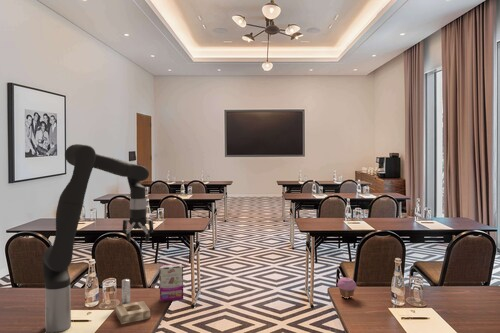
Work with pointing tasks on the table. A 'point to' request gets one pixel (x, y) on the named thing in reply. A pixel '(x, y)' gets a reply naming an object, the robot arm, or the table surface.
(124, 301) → the pin
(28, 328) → the table surface
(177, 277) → the candy bar box
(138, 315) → the socket block
